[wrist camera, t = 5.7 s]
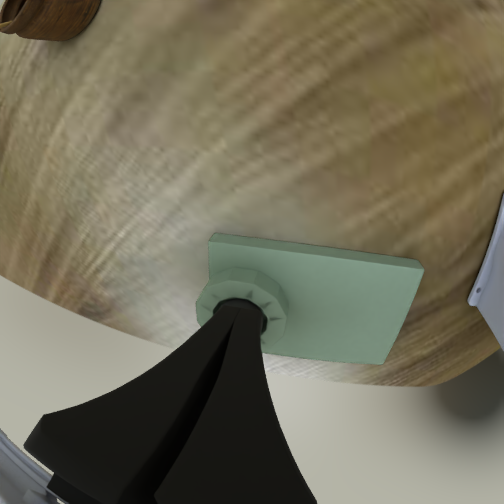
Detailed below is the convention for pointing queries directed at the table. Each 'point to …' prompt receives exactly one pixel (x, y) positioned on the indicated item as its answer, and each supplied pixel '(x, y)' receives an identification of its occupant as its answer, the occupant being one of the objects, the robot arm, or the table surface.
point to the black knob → (242, 305)
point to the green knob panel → (313, 296)
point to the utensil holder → (46, 18)
